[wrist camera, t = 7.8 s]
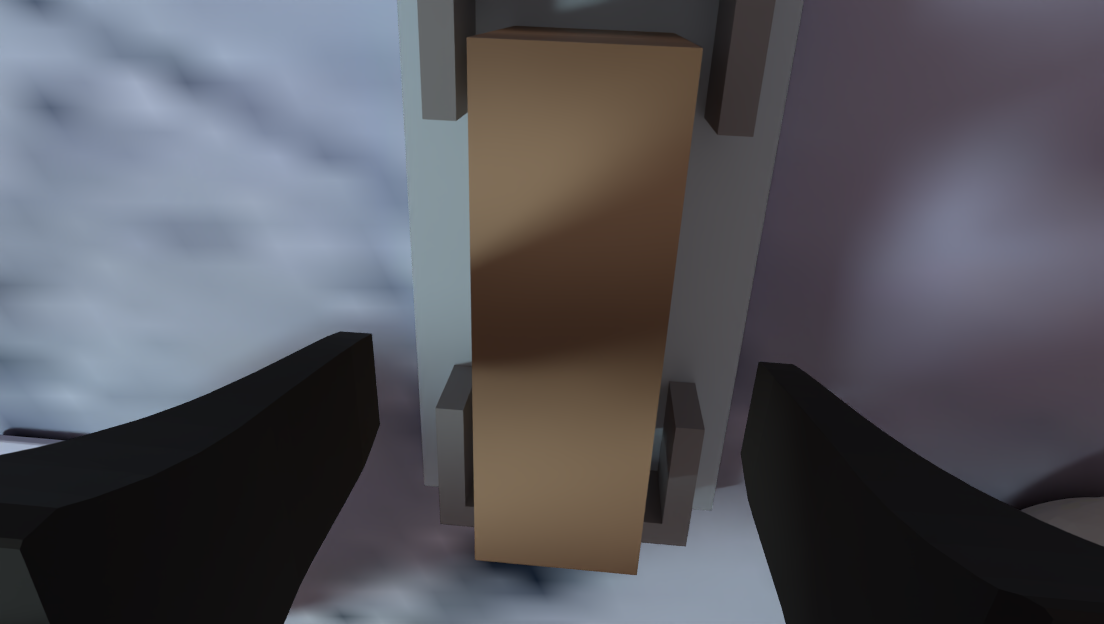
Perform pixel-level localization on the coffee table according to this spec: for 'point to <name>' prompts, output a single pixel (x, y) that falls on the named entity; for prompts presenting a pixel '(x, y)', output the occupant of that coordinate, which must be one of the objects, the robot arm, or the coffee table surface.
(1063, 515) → the teacup
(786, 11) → the board
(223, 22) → the coffee table surface
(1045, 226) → the coffee table surface
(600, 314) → the tan wooden block
